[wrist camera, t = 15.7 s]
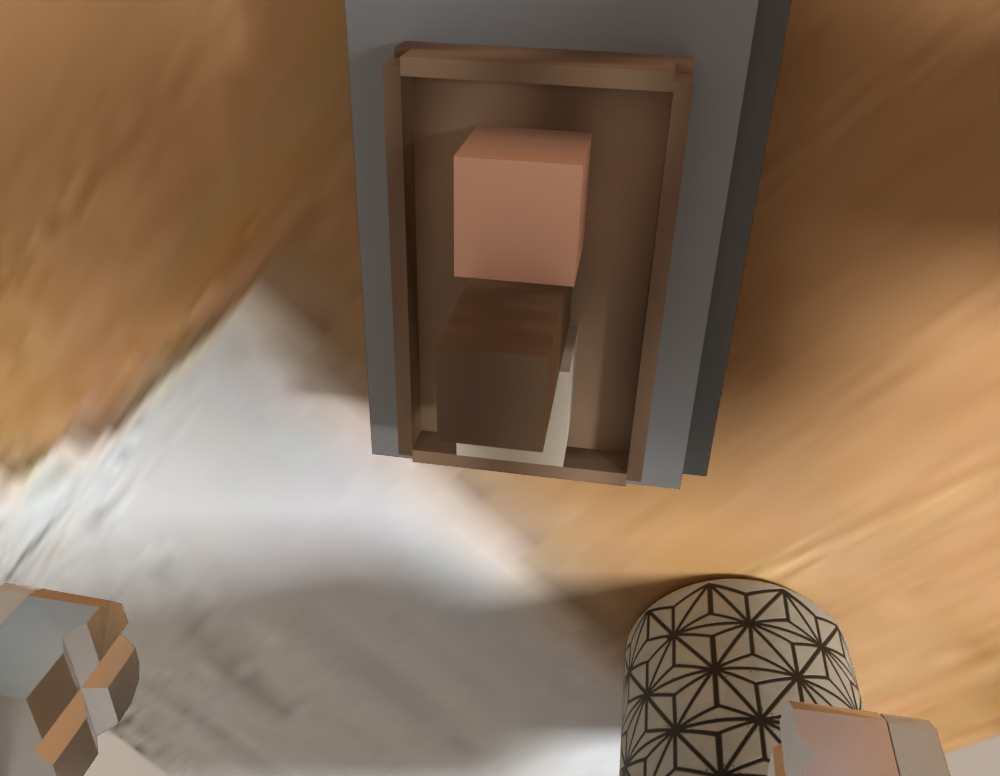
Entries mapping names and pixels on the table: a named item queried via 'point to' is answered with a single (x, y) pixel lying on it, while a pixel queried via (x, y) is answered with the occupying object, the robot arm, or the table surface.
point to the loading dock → (703, 192)
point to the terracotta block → (520, 204)
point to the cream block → (557, 422)
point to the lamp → (726, 677)
